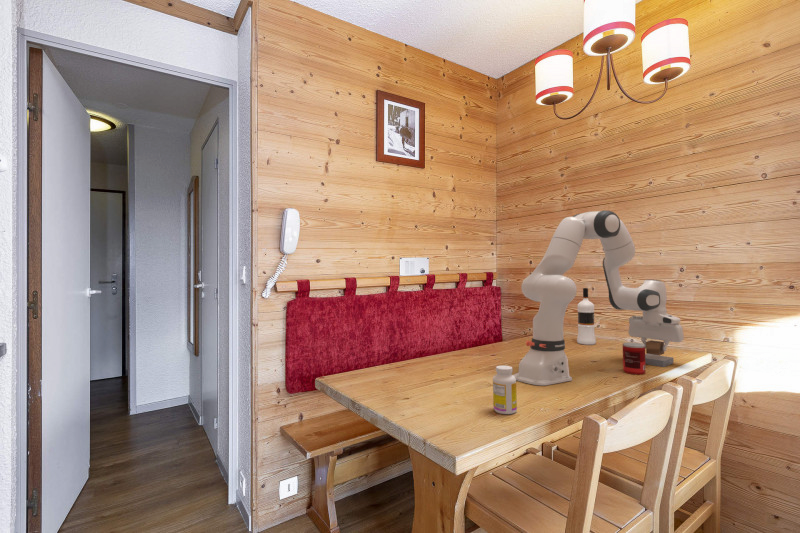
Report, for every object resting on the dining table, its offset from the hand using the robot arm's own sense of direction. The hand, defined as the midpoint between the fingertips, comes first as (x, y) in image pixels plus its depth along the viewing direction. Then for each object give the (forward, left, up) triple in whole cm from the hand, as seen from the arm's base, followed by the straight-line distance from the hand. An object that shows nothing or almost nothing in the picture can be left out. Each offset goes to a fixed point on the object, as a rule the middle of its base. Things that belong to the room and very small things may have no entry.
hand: (655, 349), depth 170 cm
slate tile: (0, 0, -6) cm, 6 cm away
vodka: (+19, +41, -6) cm, 46 cm away
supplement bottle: (-95, +3, -6) cm, 95 cm away
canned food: (-22, -1, -6) cm, 23 cm away
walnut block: (0, 0, -2) cm, 2 cm away
